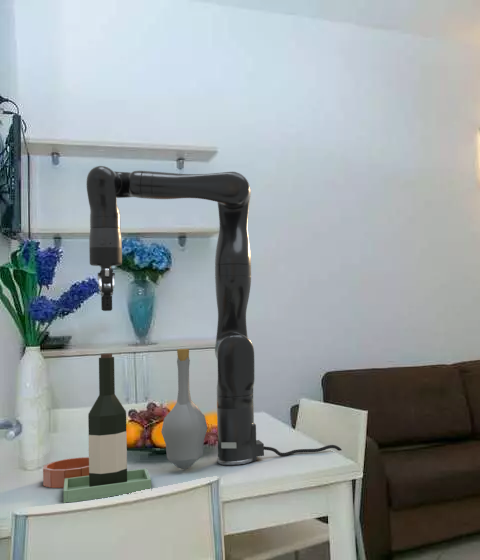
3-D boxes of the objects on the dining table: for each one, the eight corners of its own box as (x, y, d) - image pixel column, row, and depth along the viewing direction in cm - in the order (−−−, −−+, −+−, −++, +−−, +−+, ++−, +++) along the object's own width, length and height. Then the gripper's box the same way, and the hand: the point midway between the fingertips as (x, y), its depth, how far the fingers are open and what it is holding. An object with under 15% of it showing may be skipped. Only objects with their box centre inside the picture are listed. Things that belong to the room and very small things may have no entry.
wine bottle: (134, 481, 157) (132, 351, 157) (120, 492, 148) (118, 354, 149) (97, 483, 156) (95, 352, 157) (81, 493, 148) (79, 356, 149)
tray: (147, 479, 161) (146, 468, 161) (151, 491, 151) (151, 479, 151) (64, 490, 153) (64, 478, 154) (63, 503, 143) (63, 491, 143)
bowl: (101, 470, 170) (101, 454, 170) (103, 482, 159) (103, 465, 159) (44, 477, 165) (44, 461, 165) (42, 490, 153) (41, 473, 153)
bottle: (155, 469, 170) (153, 349, 171) (199, 461, 177) (197, 346, 178) (169, 478, 161) (167, 351, 162) (215, 470, 168) (213, 348, 169)
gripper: (123, 244, 167) (124, 310, 167) (120, 248, 180) (121, 310, 179) (89, 244, 164) (90, 311, 163) (89, 248, 177) (90, 311, 176)
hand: (106, 310), depth 171 cm, fingers open, 8 cm apart
